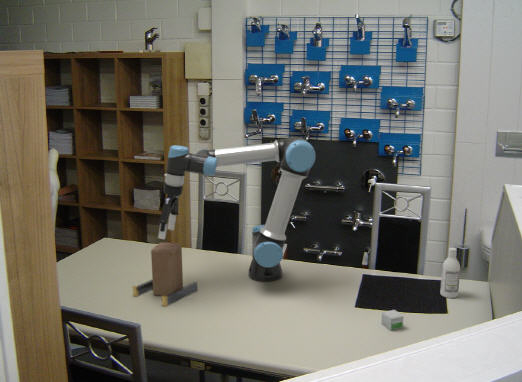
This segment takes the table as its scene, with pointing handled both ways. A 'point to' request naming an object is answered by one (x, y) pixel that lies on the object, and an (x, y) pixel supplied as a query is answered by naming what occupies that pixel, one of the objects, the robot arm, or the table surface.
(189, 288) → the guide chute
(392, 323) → the small box
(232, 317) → the table surface
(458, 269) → the bath foam
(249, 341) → the table surface
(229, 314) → the table surface
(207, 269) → the table surface
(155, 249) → the wooden block
